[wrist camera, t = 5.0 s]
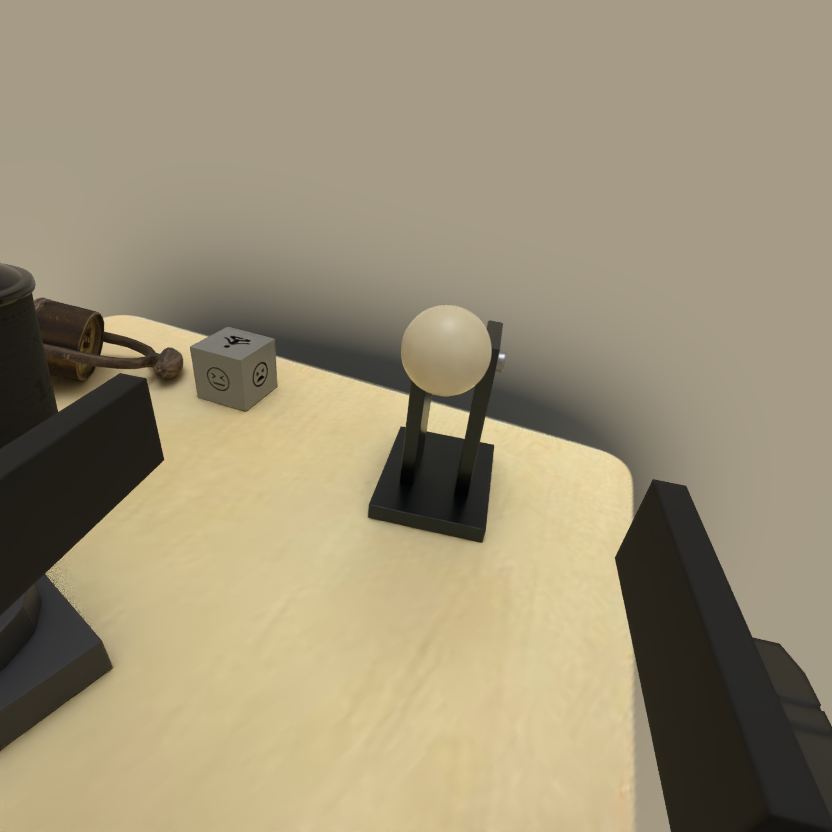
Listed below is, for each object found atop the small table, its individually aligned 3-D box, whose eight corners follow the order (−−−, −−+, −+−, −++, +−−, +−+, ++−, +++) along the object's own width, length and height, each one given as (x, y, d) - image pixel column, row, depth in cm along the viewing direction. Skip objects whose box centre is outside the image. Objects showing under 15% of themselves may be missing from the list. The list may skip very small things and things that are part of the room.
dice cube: (277, 386, 47) (274, 339, 44) (245, 411, 43) (240, 360, 40) (232, 374, 48) (227, 326, 45) (197, 397, 44) (189, 346, 41)
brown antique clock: (68, 290, 47) (-36, 300, 38) (190, 298, 46) (113, 310, 36) (82, 362, 50) (-13, 388, 40) (198, 372, 48) (128, 402, 39)
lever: (482, 407, 19) (501, 308, 18) (386, 389, 19) (403, 292, 19) (481, 387, 33) (492, 331, 32) (426, 377, 33) (436, 321, 33)
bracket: (482, 542, 33) (525, 375, 26) (367, 517, 33) (379, 348, 27) (491, 456, 41) (526, 312, 34) (399, 437, 42) (415, 293, 35)
